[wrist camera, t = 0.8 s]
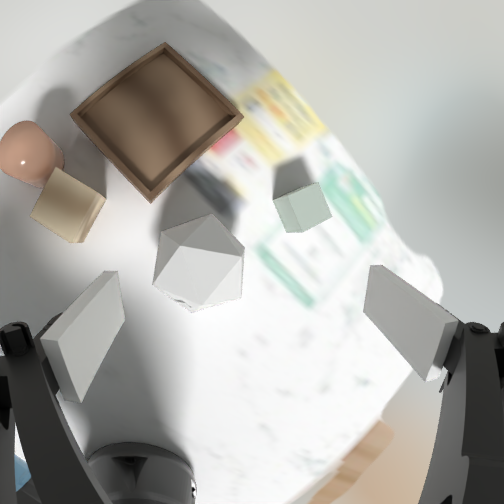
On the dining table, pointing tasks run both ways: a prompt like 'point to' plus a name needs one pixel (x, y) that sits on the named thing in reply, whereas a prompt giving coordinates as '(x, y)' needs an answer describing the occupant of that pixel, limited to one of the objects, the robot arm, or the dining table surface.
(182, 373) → the dining table surface
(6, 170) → the peach rounded capsule
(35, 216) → the oak block
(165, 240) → the die
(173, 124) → the walnut tray
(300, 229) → the grey-green block
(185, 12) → the dining table surface
